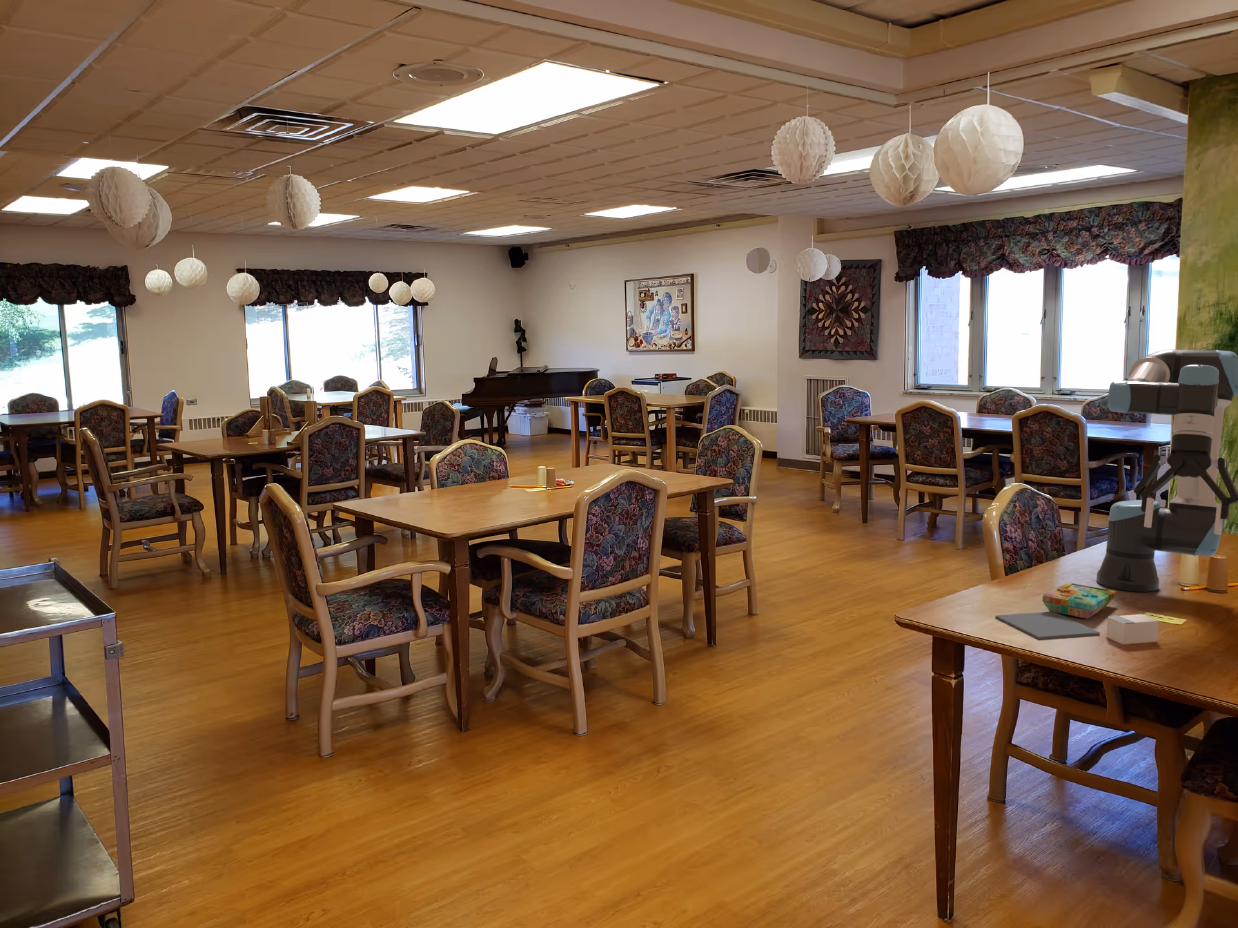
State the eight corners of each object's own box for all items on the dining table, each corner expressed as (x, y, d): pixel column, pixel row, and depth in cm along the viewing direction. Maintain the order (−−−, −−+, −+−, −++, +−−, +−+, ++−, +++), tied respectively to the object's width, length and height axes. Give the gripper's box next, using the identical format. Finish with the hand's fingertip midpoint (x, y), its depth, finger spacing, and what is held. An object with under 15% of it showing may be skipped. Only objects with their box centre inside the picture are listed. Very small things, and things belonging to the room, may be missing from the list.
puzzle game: (1043, 591, 230) (1068, 579, 245) (1041, 610, 230) (1066, 596, 245) (1094, 601, 222) (1117, 587, 237) (1092, 620, 223) (1115, 606, 238)
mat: (1052, 613, 230) (1053, 611, 230) (1099, 634, 215) (1099, 632, 215) (995, 617, 227) (995, 615, 227) (1038, 639, 211) (1038, 636, 211)
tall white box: (1139, 635, 215) (1141, 613, 215) (1156, 642, 211) (1158, 620, 210) (1106, 637, 214) (1107, 616, 213) (1122, 644, 209) (1124, 623, 208)
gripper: (1125, 430, 213) (1114, 522, 212) (1255, 434, 195) (1244, 535, 194) (1135, 435, 218) (1125, 525, 217) (1263, 440, 201) (1252, 538, 199)
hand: (1181, 530), depth 206 cm, fingers open, 13 cm apart
